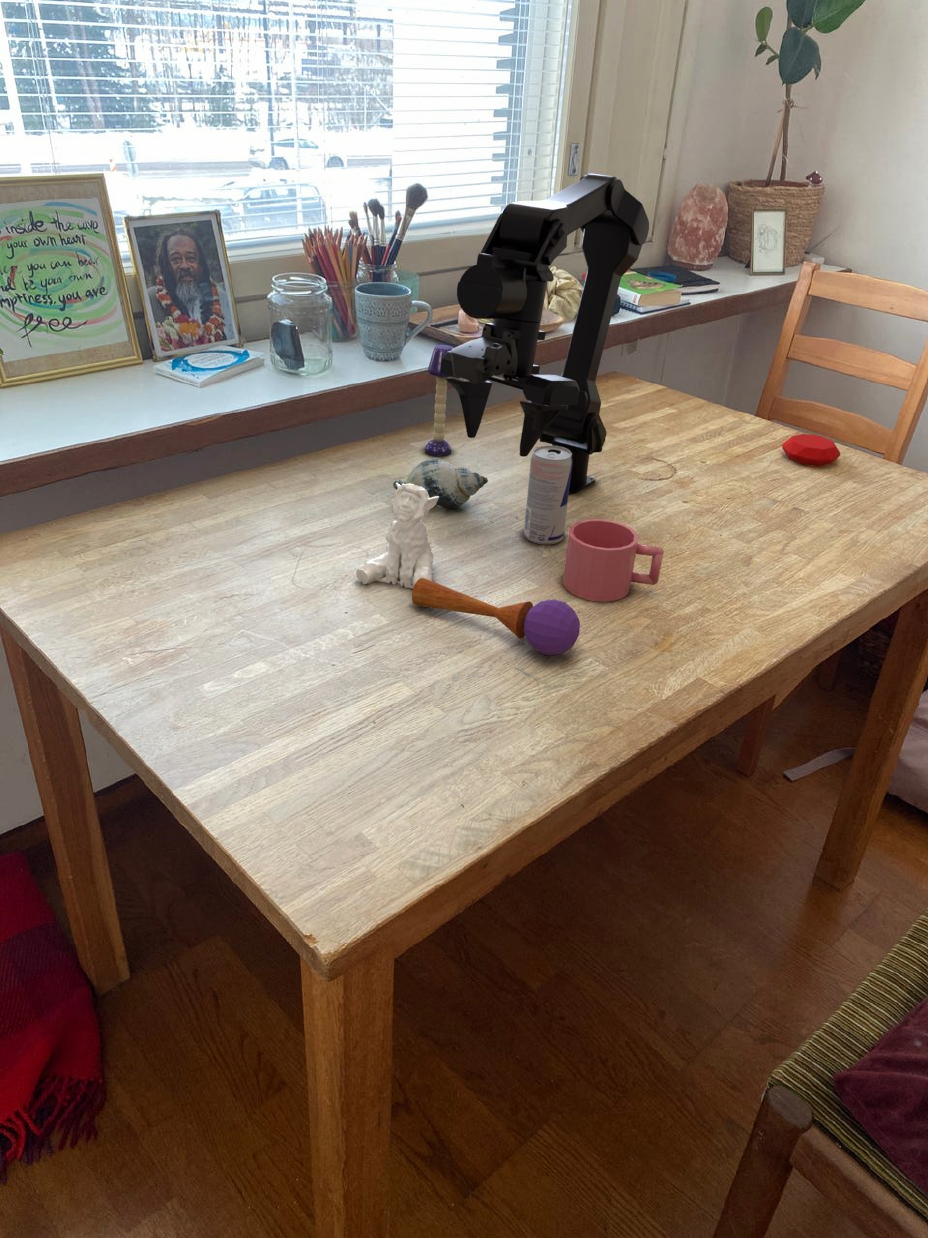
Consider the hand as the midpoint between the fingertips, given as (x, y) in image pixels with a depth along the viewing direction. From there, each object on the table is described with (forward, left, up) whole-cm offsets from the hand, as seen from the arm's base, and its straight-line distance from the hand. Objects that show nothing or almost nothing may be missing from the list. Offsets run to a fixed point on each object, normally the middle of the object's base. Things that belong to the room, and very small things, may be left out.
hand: (496, 446), depth 119 cm
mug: (+1, +19, -13) cm, 23 cm away
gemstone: (-60, +23, -13) cm, 66 cm away
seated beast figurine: (+16, -2, -13) cm, 21 cm away
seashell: (-4, -12, -13) cm, 18 cm away
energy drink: (-5, +5, -13) cm, 15 cm away
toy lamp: (-20, -24, -13) cm, 34 cm away
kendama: (+19, +13, -13) cm, 27 cm away
